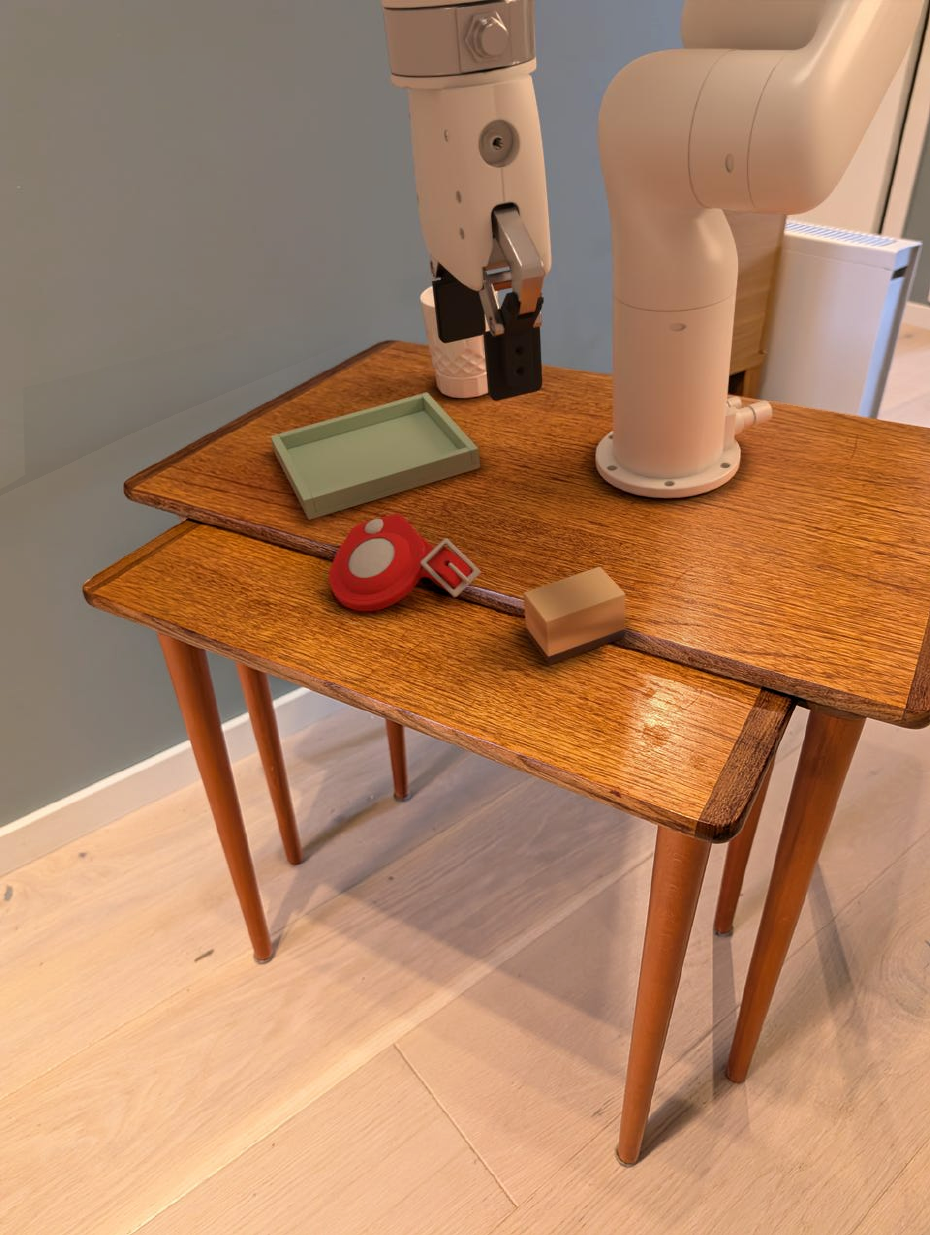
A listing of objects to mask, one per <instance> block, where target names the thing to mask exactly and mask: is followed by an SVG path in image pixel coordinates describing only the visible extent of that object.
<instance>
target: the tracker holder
mask: <svg viewBox="0 0 930 1235" xmlns="http://www.w3.org/2000/svg"><path fill="white" fill-rule="evenodd" d="M445 546H447V547H448V548H449V549H448V548H447V547H445ZM450 549H451V550H450ZM481 573H482V572H481V570H480V568H478V567H477V566H476V565H475V564H474V563H473V562H472V561H471V560H470V559H469V558H468V557H467V556H466V555H465V554H464V553H462V552H461V550H460V549H459V548H458V547H457V546H456V545H454V543H453V542H452V541H451V540H449V539H448V538H447V537H446V538H444V539H443V540H441V542H439V543H438V544H437V545H436V546H434V545H432V544H431V543H430V542H429V541H428V540H426V539H425V538H424V537H423V536H421V535H420V533H418V532H417V531H416V529H415V528H414V527H413V526H412V524H411V523H410V522H409V521H408V520H407V519H406V518H405V517H404V515H402V514H401V513H398V512H397V513H392V514H389V515H385V516H381V517H378V518H374V519H371V520H367V521H364V522H361V523H358V524H356V525H354V526H353V527H352V528H351V529H350V530H349V532H348V534H347V536H346V537H345V539H344V540H343V541H342V543H341V545H340V546H339V549H338V550H337V552H336V555H335V557H334V559H333V561H332V563H331V566H330V569H329V572H328V582H329V586H330V589H331V591H332V593H333V595H334V597H335V598H336V599H337V600H338V602H339V603H341V604H342V605H343V606H344V607H345V608H348V609H351V610H354V611H356V612H357V611H359V612H373V611H374V612H375V611H379V610H383V609H387V608H388V607H390V606H392V605H394V604H396V603H397V602H399V601H401V600H402V599H404V598H405V597H406V596H407V595H408V594H410V593H411V592H412V591H413V589H415V587H416V586H417V584H418V583H419V582H420V580H421V579H422V578H428V579H429V580H430V581H431V582H432V583H433V584H434V585H435V586H437V587H439V588H441V589H443V590H444V591H446V592H448V593H449V594H450V595H451V596H452V597H453V598H457V597H459V595H460V594H461V593H462V592H464V591H465V589H466V588H467V587H469V585H470V584H471V583H472V582H473V581H474V580H476V579H477V578H478V577H479V576H480V575H481Z"/></svg>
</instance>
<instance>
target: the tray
mask: <svg viewBox="0 0 930 1235" xmlns="http://www.w3.org/2000/svg"><path fill="white" fill-rule="evenodd" d="M270 441H271V444H272V448H273V451H274V454H275V457H276V459H277V461H278V462H279V465H280V466H281V467H280V468H282V471H283V472H284V474H285V477H286V478H287V480H288V482H289V484H290V486H291V488H292V490H293V492H294V494H295V496H296V497H297V500H298V502H299V504H300V506H301V508H302V510H303V512H304V514H305V516H306V518H307V520H308V521H311V520H314V519H317V518H320V517H323V516H327V515H331V514H333V513H337V512H340V511H343V510H346V509H350V508H353V507H357V506H361V505H363V504H366V503H369V502H372V501H377V500H379V499H383V498H386V497H389V496H393V495H396V494H399V493H402V492H405V491H410V490H413V489H416V488H419V487H422V486H425V485H429V484H431V483H435V482H438V481H441V480H445V479H448V478H451V477H454V476H455V477H456V476H458V475H461V474H465V473H468V472H471V471H475V470H478V469H481V460H480V451H479V447H478V446H477V445H476V444H475V443H474V441H473V440H472V439H470V437H469V436H468V435H467V434H466V433H465V432H464V431H463V430H462V429H461V428H460V426H459V425H458V424H457V423H456V422H455V421H454V420H453V419H452V417H450V415H449V414H448V413H447V411H445V410H444V408H443V407H441V405H440V404H439V403H438V402H437V401H436V400H435V399H434V398H433V397H432V396H431V395H430V393H429V392H427V391H426V392H423V393H419V394H415V395H412V396H409V397H404V398H401V399H398V400H394V401H391V402H387V403H383V404H380V405H376V406H373V407H369V408H367V409H363V410H359V411H356V412H355V411H354V412H352V413H348V414H344V415H340V416H337V417H333V418H331V419H327V420H323V421H320V422H316V423H312V424H308V425H305V426H301V427H297V428H295V429H291V430H288V431H283V432H281V433H276V434H272V435H270Z"/></svg>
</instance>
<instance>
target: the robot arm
mask: <svg viewBox="0 0 930 1235" xmlns="http://www.w3.org/2000/svg"><path fill="white" fill-rule="evenodd" d="M380 4H381V7H382V11H381V12H382V17H383V18H382V19H383V26H384V34H385V42H386V49H387V58H388V65H389V72H390V73H389V74H390V82H391V85H392V86H394V87H395V88H398V89H408V107H409V112H408V113H409V114H408V117H409V123H410V136H411V149H412V161H413V172H414V181H415V191H416V200H417V208H418V215H419V220H420V227H421V233H422V238H423V241H424V244H425V248H426V249H427V251H428V253H430V257H429V270H430V274H431V277H432V279H433V280H431V286H432V287H433V296H434V305H435V313H436V322H437V331H438V337H439V339H440V340H441V341H442V342H443V343H450V342H454V341H459V340H463V339H468V338H472V337H477V336H481V335H483V338H484V350H485V362H486V374H487V386H488V393H487V394H488V396H489V397H490V399H491V400H492V401H494V402H499V401H502V400H508V399H511V398H515V397H519V396H524V395H528V394H532V393H536V392H539V391H540V390H541V389H542V387H543V366H542V364H543V363H542V342H541V340H542V339H541V327H542V324H543V315H542V308H543V304H544V302H545V298H544V296H542V295H543V292H542V291H543V284H544V280H545V277H547V275H548V274H549V273H550V270H551V268H552V244H551V229H550V217H549V216H550V215H549V205H548V204H549V202H548V190H547V177H546V176H547V175H546V167H545V155H544V146H543V139H542V130H541V123H540V117H539V116H540V115H539V110H538V104H537V99H536V93H535V87H534V83H533V77H532V75H530V74H531V73H533V72H535V71H536V70H537V46H536V44H537V43H536V42H537V41H536V18H535V17H536V16H535V0H380ZM924 4H925V0H684V4H683V7H682V10H681V11H682V12H681V18H680V19H681V20H680V28H679V29H680V39H681V44H682V46H683V48H672V49H663V50H659V51H655V52H654V51H653V52H650V53H647V54H644V55H641V56H639V57H637V58H635V59H634V60H632V61H630V62H629V63H627V64H626V65H625V66H624V67H622V68H621V70H619V71H618V72H617V73H616V74H615V75H614V77H613V78H612V79H611V81H610V82H609V84H608V86H607V88H606V90H605V92H604V95H603V98H602V101H601V104H600V107H599V112H598V117H597V118H598V120H597V128H596V131H597V132H596V134H597V149H598V158H599V164H600V169H601V173H602V179H603V184H604V189H605V194H606V200H607V206H608V213H609V221H610V222H609V223H610V236H611V258H612V261H611V262H612V264H611V265H612V431H610V432H609V433H607V434H606V435H605V436H603V438H602V439H601V440H600V441H599V442H598V444H597V446H596V448H595V466H596V467H595V468H596V470H597V472H598V474H599V475H600V477H602V479H603V480H604V481H606V482H607V483H608V484H610V485H612V486H613V487H615V488H617V489H619V490H621V491H623V492H625V493H629V494H632V495H636V496H640V497H647V498H653V499H680V498H687V497H694V496H697V495H702V494H705V493H708V492H711V491H713V490H715V489H718V488H719V487H721V486H723V485H724V484H726V483H728V482H729V481H730V480H731V479H732V478H733V477H734V476H736V473H737V472H738V470H739V468H740V463H741V455H742V454H741V452H742V451H741V447H740V445H739V442H738V441H737V439H735V436H737V435H741V433H742V432H743V430H744V429H746V428H749V427H750V428H751V427H754V426H757V425H760V424H764V423H766V422H770V421H771V420H772V418H773V407H772V406H771V404H770V402H768V401H767V400H759V401H756V402H752V403H750V404H747V405H745V406H744V407H743V402H742V400H741V398H740V397H739V396H737V395H735V396H732V397H728V394H729V382H730V369H731V357H732V348H733V347H732V345H733V336H734V335H733V334H734V324H735V323H734V322H735V321H734V320H735V310H736V300H737V289H738V278H739V255H738V249H737V246H736V241H735V238H734V235H733V232H732V229H731V226H730V224H729V222H728V220H727V218H726V215H725V213H724V211H723V210H726V211H733V212H734V211H735V212H745V213H754V214H763V215H774V216H775V215H778V216H795V215H800V214H805V213H809V212H810V211H812V210H815V209H816V208H817V207H819V206H820V205H821V204H823V203H824V202H825V201H826V200H827V199H828V198H829V196H830V195H831V194H832V193H833V192H834V190H835V189H836V188H837V186H838V184H839V183H840V181H841V180H842V178H843V176H844V174H846V171H847V169H848V168H849V166H850V164H851V162H852V160H853V158H854V156H855V154H856V153H857V150H858V148H859V146H860V145H861V143H862V140H863V139H864V137H865V135H866V133H867V131H868V130H869V127H870V125H871V124H872V121H873V119H874V118H875V115H876V113H877V111H878V110H879V107H880V106H881V104H882V102H883V100H884V98H885V96H886V94H887V92H888V90H889V88H890V86H891V84H892V83H893V81H894V78H895V77H896V75H897V73H898V71H899V69H900V67H901V66H902V63H903V60H904V58H905V57H906V54H907V52H908V50H909V48H910V46H911V43H912V41H913V38H914V37H915V33H916V31H917V28H918V25H919V22H920V19H921V14H922V11H923V7H924ZM503 268H509V269H507V270H503V271H497V272H493V273H489V274H488V272H491V271H494V270H499V269H503ZM508 289H512V291H511V292H507V293H506V294H505V296H504V299H503V301H502V304H501V306H500V305H499V300H498V301H497V297H496V294H495V291H498V292H500V291H504V290H508ZM485 316H486V319H487V323H488V326H489V330H490V331H486V323H485ZM485 331H486V332H485Z"/></svg>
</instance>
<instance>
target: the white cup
mask: <svg viewBox="0 0 930 1235" xmlns="http://www.w3.org/2000/svg"><path fill="white" fill-rule="evenodd" d="M495 294H496V297H497V301H498V302H499V291H495ZM419 301H420V306H421V307H420V308H421V312H422V317H423V322H424V323H423V324H424V329H425V333H426V340H427V345H428V349H429V352H430V359H431V363H432V366H433V369H434V375H435V376H434V377H435V379H436V380H435V381H436V387H437V389H438V390H439V392H440V393H441V394H442V395H445V396H447V397H450V398H455V399H456V398H457V399H470V398H476V397H481V396H484V395H487V394H488V386H487V374H486V362H485V350H484V338H483V335H481V336H477V337H472V338H468V339H463V340H459V341H454V342H450V343H443V342H442V341H441V340H440V339H439V337H438V331H437V322H436V313H435V305H434V296H433V287H432V285H431V286H429V287H427V288H426V289H425V290H423V291H422V292H421V294H420V295H419ZM485 323H486V331H490V330H489V326H488V323H487V319H486V316H485ZM486 331H485V332H486Z"/></svg>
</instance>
